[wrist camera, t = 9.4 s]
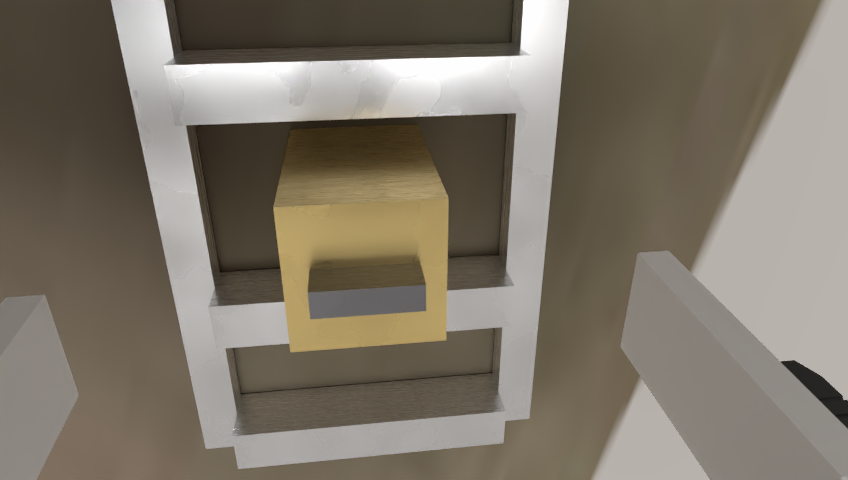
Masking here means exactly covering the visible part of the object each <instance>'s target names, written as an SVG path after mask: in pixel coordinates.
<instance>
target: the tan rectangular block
mask: <svg viewBox="0 0 848 480" xmlns="http://www.w3.org/2000/svg"><path fill="white" fill-rule="evenodd" d="M273 209H274V218H275V226H276V234H277V243H278V251H279V260H280V268H281V277H282V285H283V293H284V302H285V310H286V319H287V327H288V336H289V344H290V352H301V351H314V350H327V349H340V348H353V347H366V346H379V345H392V344H405V343H418V342H431V341H444V340H446V324H447V268H448V212H449V198H448V196H447V193H446V191H445V189H444V186H443V184H442V182H441V179H440V177H439V174H438V172H437V170H436V167H435V165H434V163H433V160H432V158H431V156H430V153H429V151H428V148H427V146H426V144H425V141H424V139H423V137H422V134H421V132H420V130H419V127H418V125H417V124H414V125H387V126H360V127H333V128H306V129H291V130H290V134H289V139H288V143H287V148H286V152H285V157H284V161H283V166H282V170H281V175H280V179H279V184H278V189H277V193H276V198H275V202H274V207H273Z"/></svg>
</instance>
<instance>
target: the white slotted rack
mask: <svg viewBox="0 0 848 480" xmlns="http://www.w3.org/2000/svg"><path fill="white" fill-rule="evenodd" d="M111 4H112V8H113V13H114V18H115V22H116V27H117V32H118V37H119V41H120V46H121V51H122V55H123V60H124V65H125V70H126V74H127V79H128V84H129V88H130V93H131V98H132V103H133V107H134V112H135V117H136V121H137V126H138V131H139V136H140V140H141V145H142V150H143V154H144V159H145V164H146V169H147V173H148V178H149V183H150V187H151V192H152V197H153V202H154V206H155V211H156V216H157V220H158V225H159V230H160V235H161V239H162V244H163V249H164V253H165V258H166V263H167V268H168V272H169V277H170V282H171V286H172V291H173V296H174V301H175V305H176V310H177V315H178V319H179V324H180V329H181V334H182V338H183V343H184V348H185V352H186V357H187V362H188V367H189V371H190V376H191V381H192V385H193V390H194V395H195V400H196V404H197V409H198V414H199V418H200V423H201V428H202V433H203V437H204V442H205V447H206V449H210V448H220V447H231V446H234V449H235V454H236V460H237V465H238V469H243V468H253V467H263V466H274V465H284V464H294V463H304V462H315V461H325V460H335V459H345V458H356V457H366V456H376V455H386V454H397V453H407V452H417V451H427V450H437V449H448V448H458V447H468V446H478V445H489V444H499V443H503V441H504V428H505V421H509V420H519V419H529V416H530V405H531V395H532V384H533V374H534V363H535V352H536V342H537V331H538V321H539V310H540V300H541V289H542V279H543V268H544V258H545V247H546V236H547V226H548V215H549V205H550V194H551V184H552V173H553V163H554V152H555V142H556V131H557V120H558V110H559V99H560V89H561V78H562V68H563V57H564V47H565V36H566V26H567V15H568V4H569V0H514V3H513V21H512V38H511V43H476V44H434V45H392V46H349V47H307V48H265V49H223V50H182V46H181V40H180V34H179V28H178V22H177V16H176V11H175V5H174V0H111ZM480 114H507V124H506V142H505V159H504V176H503V194H502V211H501V228H500V245H499V255H486V256H470V257H454V258H448V268H447V324H446V331H459V330H473V329H486V328H495V332H494V349H493V366H492V373H487V374H475V375H463V376H451V377H439V378H428V379H416V380H404V381H392V382H380V383H369V384H357V385H345V386H333V387H321V388H309V389H298V390H286V391H274V392H262V393H250V394H241V393H240V387H239V381H238V375H237V370H236V364H235V358H234V352H233V348H236V347H250V346H263V345H276V344H289V336H288V327H287V319H286V310H285V302H284V293H283V285H282V277H281V268H279V269H263V270H247V271H231V272H220V270H219V264H218V258H217V252H216V246H215V240H214V234H213V228H212V222H211V217H210V211H209V205H208V199H207V193H206V187H205V181H204V175H203V169H202V164H201V158H200V152H199V146H198V140H197V134H196V128H195V125H208V124H235V123H262V122H289V121H316V120H344V119H371V118H398V117H425V116H452V115H480Z"/></svg>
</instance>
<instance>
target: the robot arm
mask: <svg viewBox="0 0 848 480" xmlns="http://www.w3.org/2000/svg"><path fill="white" fill-rule="evenodd" d="M620 347H621V348H622V350H623V351H624V353H625V354H626V356H627V357H628V359H629V360H630V362H631V363H632V365H633V366H634V367H635V369H636V370H637V372H638V373H639V375H640V376H641V378H642V379H643V381H644V382H645V384H646V385H647V387H648V388H649V389H650V391H651V393H652V394H653V396H654V397H655V399H656V400H657V402H658V403H659V404H660V406H661V407H662V409H663V410H664V412H665V413H666V415H667V416H668V418H669V419H670V421H671V422H672V424H673V425H674V427H675V428H676V430H677V431H678V432H679V434H680V435H681V437H682V438H683V440H684V441H685V443H686V444H687V446H688V447H689V449H690V450H691V452H692V453H693V454H694V456H695V458H696V459H697V461H698V462H699V463H700V465H701V466H702V468H703V470H704V471H705V472H706V474H707V475H708V477H709V478H710V480H848V401H847V400H843V398H842V397H843V396H842V395H841V394H840V393H839V392H838V391H836V389H834V388H833V387H832V386H831V385H830V384H829V383H828V382H827V381H826V380H825V379H824V378H823V377H821V376H820V375H818V374H817V373H815V372H813V371H812V370H810V369H808V368H806V367H804V366H803V365H801V364H800V363H798V362H796V361H794V360H793V361H782V362H780V361H779V360H778V359H777V358H776V357H775V356H774V355H773V354H772V353H771V352H770V351H769V350H768V349H767V348H766V347H765V346H764V345H763V344H762V343H761V342H760V341H759V340H758V339H757V338H756V337H755V336H754V335H753V334H752V333H751V332H750V331H749V330H748V329H747V328H746V327H745V326H744V325H743V324H742V323H741V322H740V321H739V320H738V319H737V318H736V317H735V316H734V315H733V314H732V313H731V312H730V311H729V310H727V309H726V307H725V306H724V305H723V304H722V303H721V302H720V301H719V300H718V299H717V298H716V297H714V295H713V294H711V292H710V291H709V290H708V289H706V288H705V287H704V286H703V285H702V284H701V283H700V282H699V281H698V280H697V279H696V278H695V277H694V276H693V275H692V274H691V273H690V272H689V271H688V270H687V269H686V268H685V267H684V266H683V265H682V264H681V263H680V262H679V261H678V260H677V259H676V258H675V257H674V256H673V255H672V254H671V253H670V252H669V251H656V252H642V253H638V254H637V260H636V265H635V271H634V276H633V281H632V287H631V292H630V298H629V303H628V308H627V314H626V319H625V325H624V330H623V336H622V341H621V346H620ZM78 396H79V394H78V392H77V389H76V386H75V383H74V380H73V377H72V374H71V371H70V368H69V365H68V362H67V359H66V356H65V353H64V350H63V347H62V344H61V341H60V338H59V335H58V332H57V329H56V326H55V323H54V320H53V317H52V314H51V311H50V308H49V305H48V302H47V299H46V297H45V295H34V296H20V297H6V298H5V299H4V300H3V301H2V303H1V304H0V480H36V479H37V477H38V475H39V473H40V471H41V470H42V468H43V466H44V464H45V462H46V460H47V458H48V456H49V454H50V452H51V450H52V448H53V446H54V444H55V442H56V440H57V438H58V436H59V434H60V432H61V430H62V428H63V426H64V424H65V422H66V420H67V418H68V416H69V414H70V412H71V410H72V408H73V406H74V404H75V402H76V400H77V398H78Z"/></svg>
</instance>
